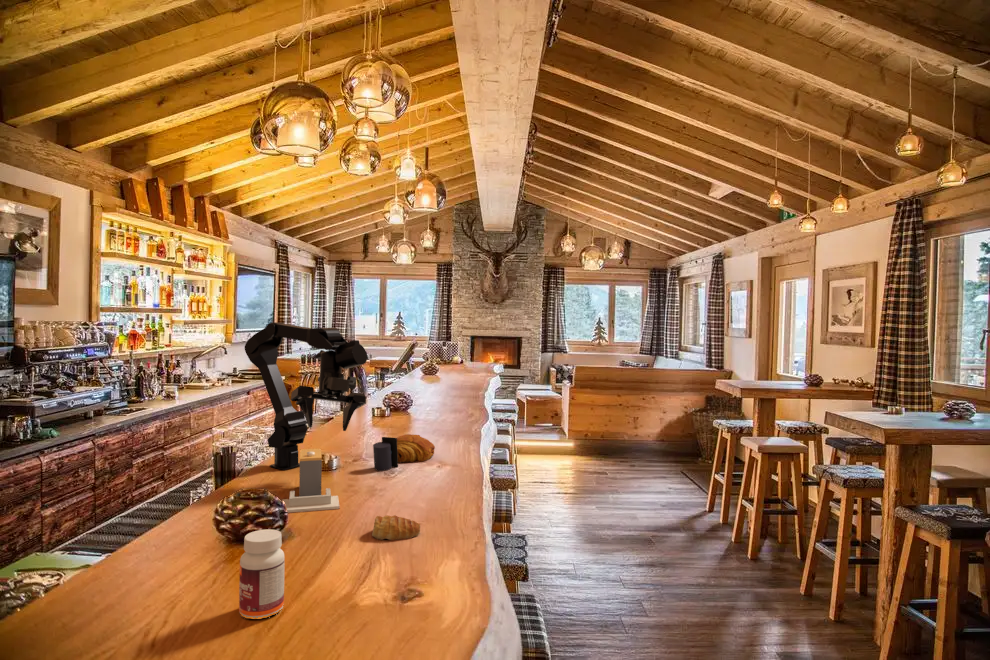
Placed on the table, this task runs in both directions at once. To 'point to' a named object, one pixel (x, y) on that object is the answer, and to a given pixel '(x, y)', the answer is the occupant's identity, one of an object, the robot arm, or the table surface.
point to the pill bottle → (261, 574)
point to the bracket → (311, 502)
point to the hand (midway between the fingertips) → (327, 429)
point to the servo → (310, 472)
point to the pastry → (394, 528)
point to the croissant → (414, 448)
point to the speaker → (385, 454)
